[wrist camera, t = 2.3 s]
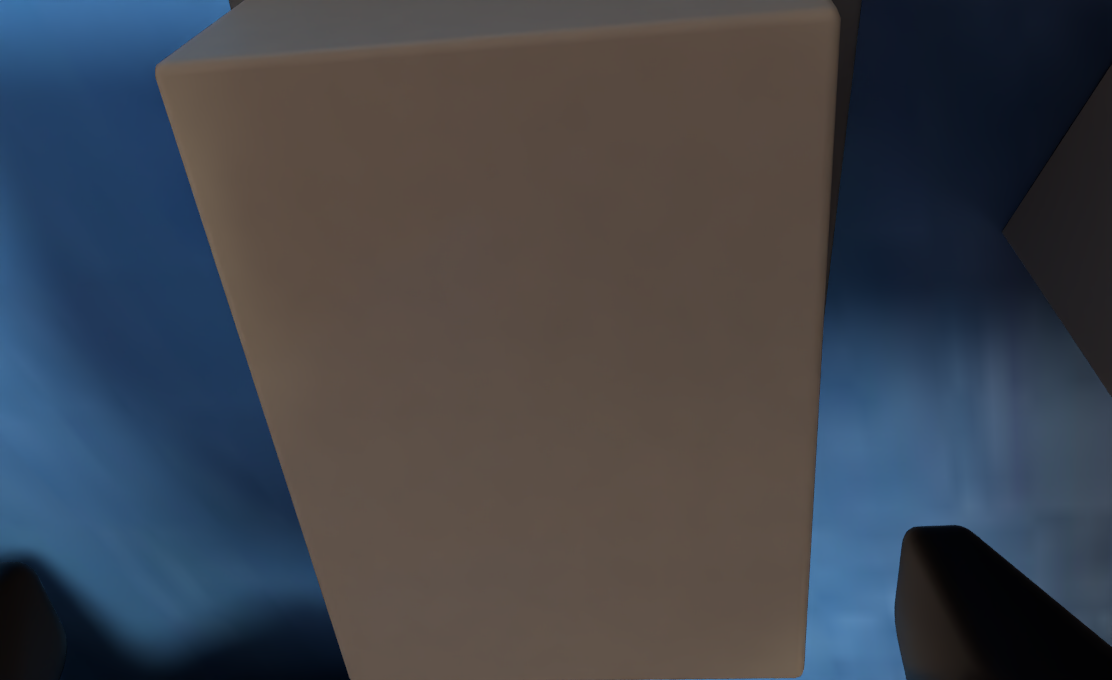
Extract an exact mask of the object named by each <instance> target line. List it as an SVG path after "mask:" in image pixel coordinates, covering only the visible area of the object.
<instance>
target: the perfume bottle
mask: <svg viewBox="0 0 1112 680" xmlns="http://www.w3.org/2000/svg"><path fill="white" fill-rule="evenodd" d="M1002 233H1003V235H1004V236H1005V238H1006V239H1007V241H1008V242H1009V244H1010V245H1011V247H1012V248H1013V250H1014V251H1015V253H1016V254H1017V256H1018V257H1019V259H1020V260H1021V262H1022V263H1023V265H1024V266H1025V268H1026V269H1027V271H1028V272H1029V274H1030V275H1031V277H1032V278H1033V280H1034V281H1035V283H1036V284H1037V286H1038V287H1039V289H1040V290H1041V292H1042V293H1043V295H1044V296H1045V298H1046V299H1047V301H1048V302H1049V304H1050V305H1051V307H1052V308H1053V310H1054V311H1055V313H1056V314H1057V316H1058V317H1059V319H1060V320H1061V322H1062V323H1063V325H1064V326H1065V328H1066V329H1067V331H1068V332H1069V334H1070V335H1071V337H1072V338H1073V340H1074V341H1075V343H1076V344H1077V346H1078V347H1079V349H1080V350H1081V352H1082V353H1083V355H1084V356H1085V358H1086V359H1087V361H1088V362H1089V364H1090V365H1091V367H1092V368H1093V370H1094V371H1095V373H1096V374H1097V376H1098V377H1099V379H1100V380H1101V382H1102V383H1103V385H1104V386H1105V388H1106V389H1107V391H1108V392H1109V394H1110V395H1111V397H1112V65H1111V66H1110V68H1109V69H1108V71H1107V72H1106V74H1105V75H1104V77H1103V78H1102V80H1101V81H1100V83H1099V84H1098V86H1097V87H1096V89H1095V90H1094V92H1093V94H1092V95H1091V97H1090V98H1089V100H1088V101H1087V103H1086V104H1085V106H1084V107H1083V109H1082V110H1081V112H1080V113H1079V115H1078V116H1077V118H1076V120H1075V121H1074V123H1073V124H1072V126H1071V127H1070V129H1069V130H1068V132H1067V133H1066V135H1065V136H1064V138H1063V139H1062V141H1061V142H1060V144H1059V146H1058V147H1057V149H1056V150H1055V152H1054V153H1053V155H1052V156H1051V158H1050V159H1049V161H1048V162H1047V164H1046V165H1045V167H1044V168H1043V170H1042V171H1041V173H1040V175H1039V176H1038V178H1037V179H1036V181H1035V182H1034V184H1033V185H1032V187H1031V188H1030V190H1029V191H1028V193H1027V194H1026V196H1025V197H1024V199H1023V201H1022V202H1021V204H1020V205H1019V207H1018V208H1017V210H1016V211H1015V213H1014V214H1013V216H1012V217H1011V219H1010V220H1009V222H1008V223H1007V225H1006V227H1005V228H1004V230H1003V231H1002Z"/></svg>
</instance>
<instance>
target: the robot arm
mask: <svg viewBox="0 0 1112 680" xmlns="http://www.w3.org/2000/svg"><path fill="white" fill-rule="evenodd" d="M895 625H896V633H897V638H898V643H899V647H900V652H901V657H902V661H903V666H904V670H905V675H906V679H907V680H1112V647H1111V646H1110V645H1109V644H1107V643H1106V642H1105V641H1104V640H1103V639H1101V638H1100V637H1099V636H1098V635H1096V634H1095V633H1094V632H1093V631H1092V630H1090V629H1089V628H1088V627H1087V626H1086V625H1084V624H1083V623H1082V622H1081V621H1079V620H1078V619H1077V618H1076V617H1075V616H1073V615H1072V614H1071V613H1070V612H1069V611H1067V610H1066V609H1065V608H1064V607H1062V606H1061V605H1060V604H1059V603H1058V602H1056V601H1055V600H1054V599H1053V598H1052V597H1050V596H1049V595H1048V594H1047V593H1046V592H1044V591H1043V590H1042V589H1041V588H1039V587H1038V586H1037V585H1036V584H1035V583H1033V582H1032V581H1031V580H1030V579H1029V578H1027V577H1026V576H1025V575H1024V574H1022V573H1021V572H1020V571H1019V570H1018V569H1016V568H1015V567H1014V566H1013V565H1012V564H1010V563H1009V562H1008V561H1007V560H1006V559H1004V558H1003V557H1002V556H1001V555H999V554H998V553H997V552H996V551H995V550H993V549H992V548H991V547H990V546H989V545H987V544H986V543H985V542H984V541H982V540H981V539H980V538H979V537H978V536H976V535H975V534H974V533H973V532H971V531H970V530H968V529H966V528H964V527H962V526H957V525H946V526H920V527H913V528H911V529H909V530H908V531H907V532H906V534H905V536H904V538H903V542H902V548H901V557H900V565H899V573H898V581H897V590H896V598H895ZM66 653H67V638H66V633H65V630H64V627H63V625H62V623H61V621H60V619H59V617H58V615H57V613H56V611H55V609H54V607H53V605H52V603H51V601H50V599H49V597H48V595H47V593H46V591H45V589H44V587H43V585H42V583H41V581H40V579H39V577H38V575H37V574H36V572H35V571H34V570H33V569H32V568H31V567H29V566H28V565H27V564H25V563H21V562H0V680H59V679H60V676H61V673H62V670H63V667H64V664H65V659H66Z"/></svg>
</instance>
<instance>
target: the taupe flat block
mask: <svg viewBox="0 0 1112 680" xmlns="http://www.w3.org/2000/svg"><path fill="white" fill-rule="evenodd" d="M840 23H841V18H840V15H839V12H838V10H837V8H836V6H835V5H834V3H833V2H832V1H831V0H244V1H243V2H241V3H240V4H239V5H237V6H236V7H234V8H233V9H232V10H230V11H229V12H228V13H226V14H225V15H224V16H222V17H221V18H219V19H218V20H217V21H215V22H214V23H213V24H211V25H210V26H209V27H207V28H206V29H205V30H203V31H202V32H200V33H199V34H198V35H196V36H195V37H194V38H192V39H191V40H190V41H188V42H187V43H185V44H184V45H183V46H181V47H180V48H179V49H177V50H176V51H175V52H173V53H172V54H170V55H169V56H168V57H166V58H165V59H164V60H162V61H161V62H160V63H158V64H157V65H156V68H155V78H156V81H157V84H158V87H159V90H160V93H161V96H162V99H163V102H164V106H165V109H166V112H167V115H168V118H169V121H170V124H171V127H172V130H173V133H174V136H175V140H176V143H177V146H178V149H179V152H180V155H181V158H182V161H183V164H184V167H185V171H186V174H187V177H188V180H189V183H190V186H191V189H192V192H193V195H194V198H195V201H196V205H197V208H198V211H199V214H200V217H201V220H202V223H203V226H204V229H205V232H206V235H207V239H208V242H209V245H210V248H211V251H212V254H213V257H214V260H215V263H216V266H217V270H218V273H219V276H220V279H221V282H222V285H223V288H224V291H225V294H226V297H227V300H228V304H229V307H230V310H231V313H232V316H233V319H234V322H235V325H236V328H237V331H238V335H239V338H240V341H241V344H242V347H243V350H244V353H245V356H246V359H247V362H248V365H249V369H250V372H251V375H252V378H253V381H254V384H255V387H256V390H257V393H258V396H259V399H260V403H261V406H262V409H263V412H264V415H265V418H266V421H267V424H268V427H269V430H270V434H271V437H272V440H273V443H274V446H275V449H276V452H277V455H278V458H279V461H280V464H281V468H282V471H283V474H284V477H285V480H286V483H287V486H288V489H289V492H290V495H291V499H292V502H293V505H294V508H295V511H296V514H297V517H298V520H299V523H300V526H301V529H302V533H303V536H304V539H305V542H306V545H307V548H308V551H309V554H310V557H311V560H312V563H313V567H314V570H315V573H316V576H317V579H318V582H319V585H320V588H321V591H322V594H323V598H324V601H325V604H326V607H327V610H328V613H329V616H330V619H331V622H332V625H333V628H334V632H335V635H336V638H337V641H338V644H339V647H340V650H341V653H342V656H343V659H344V663H345V666H346V669H347V672H348V675H349V678H350V679H351V680H642V679H736V678H796V677H799V676H801V675H802V673H803V670H804V661H805V643H806V625H807V608H808V590H809V572H810V555H811V537H812V519H813V501H814V484H815V466H816V448H817V431H818V413H819V395H820V377H821V360H822V342H823V324H824V307H825V289H826V271H827V253H828V236H829V218H830V200H831V183H832V165H833V147H834V129H835V112H836V94H837V76H838V59H839V41H840Z"/></svg>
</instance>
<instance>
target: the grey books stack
mask: <svg viewBox="0 0 1112 680" xmlns="http://www.w3.org/2000/svg"><path fill="white" fill-rule="evenodd" d="M243 1H244V0H229V3H230V8H231V10H232V9H233V8H234V7H236V6H237V5H239V4H240V3H241V2H243ZM831 1H832V2H833V3H834V5H835V6H836V8H837V10H838V12H839V15H840V18H841V23H840V41H839V59H838V76H837V94H836V112H835V129H834V147H833V165H832V183H831V200H830V218H829V236H828V253H827V271H826V289H825V305H826V297H827V289H828V280H829V272H830V263H831V255H832V247H833V238H834V230H835V221H836V213H837V205H838V196H839V188H840V179H841V171H842V163H843V154H844V146H845V137H846V129H847V121H848V112H849V104H850V95H851V87H852V79H853V70H854V62H855V53H856V45H857V37H858V28H859V20H860V11H861V3H862V0H831ZM824 314H825V307H824Z"/></svg>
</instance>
